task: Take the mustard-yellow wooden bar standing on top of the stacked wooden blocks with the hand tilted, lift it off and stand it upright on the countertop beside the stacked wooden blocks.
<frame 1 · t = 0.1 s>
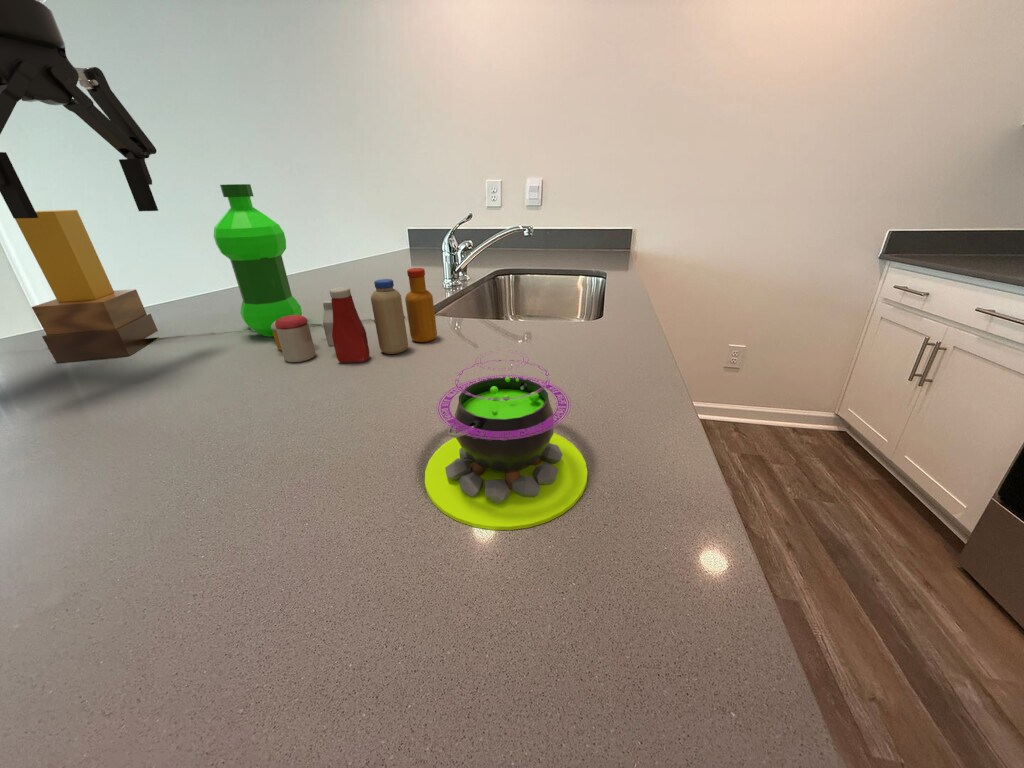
hand: (94, 214, 52), 22 cm above the countertop, tool pointing down, fingers open, 13 cm apart
toy cauldron: (506, 470, 38), on the countertop
bar: (87, 297, 66), point 9 cm above the countertop, touching stacked wooden blocks
plastic bottle: (277, 333, 77), on the countertop
toy food: (354, 350, 68), on the countertop
stacked wooden blocks: (112, 348, 70), on the countertop
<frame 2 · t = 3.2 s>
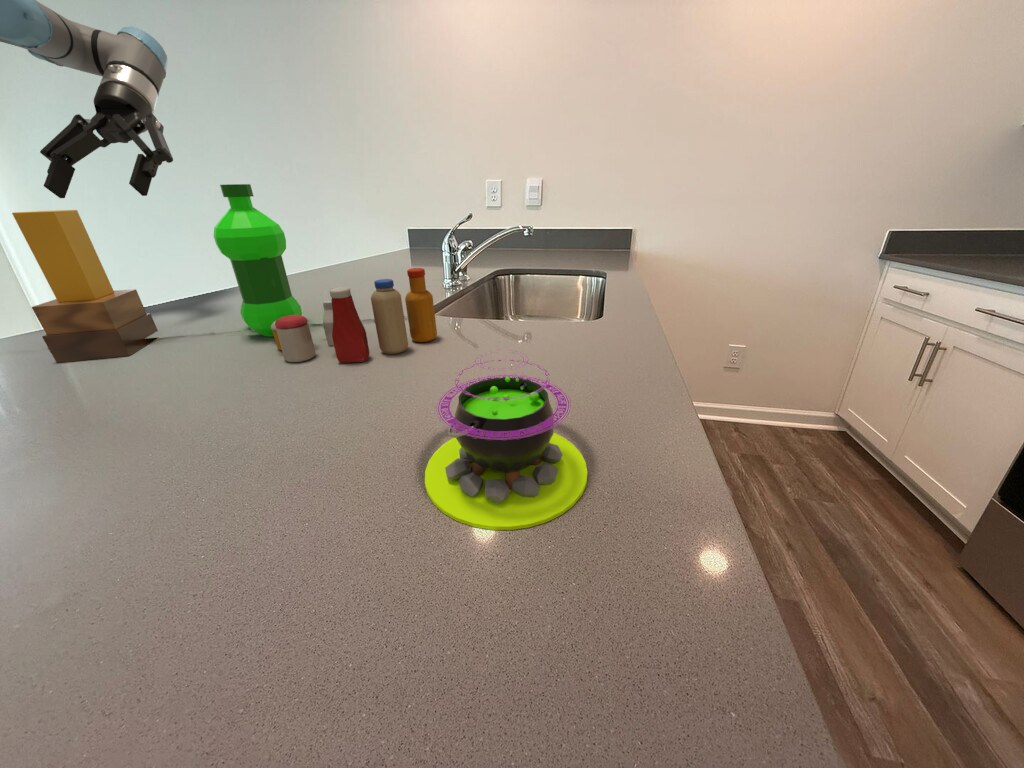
hand: (96, 191, 69), 25 cm above the countertop, tool tilted 45°, fingers open, 13 cm apart
nothing on the countertop moved.
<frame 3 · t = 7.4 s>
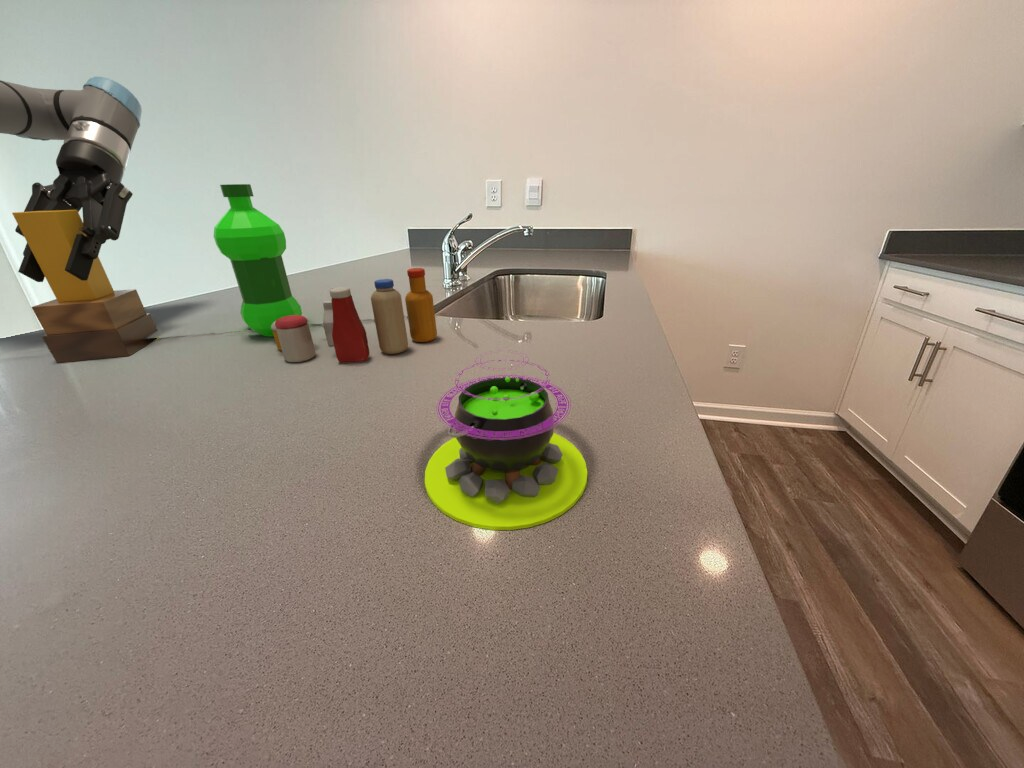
hand: (53, 275, 61), 13 cm above the countertop, tool tilted 45°, fingers closed on bar, 6 cm apart
bar: (87, 297, 66), point 9 cm above the countertop, touching gripper, stacked wooden blocks
everything else where it was.
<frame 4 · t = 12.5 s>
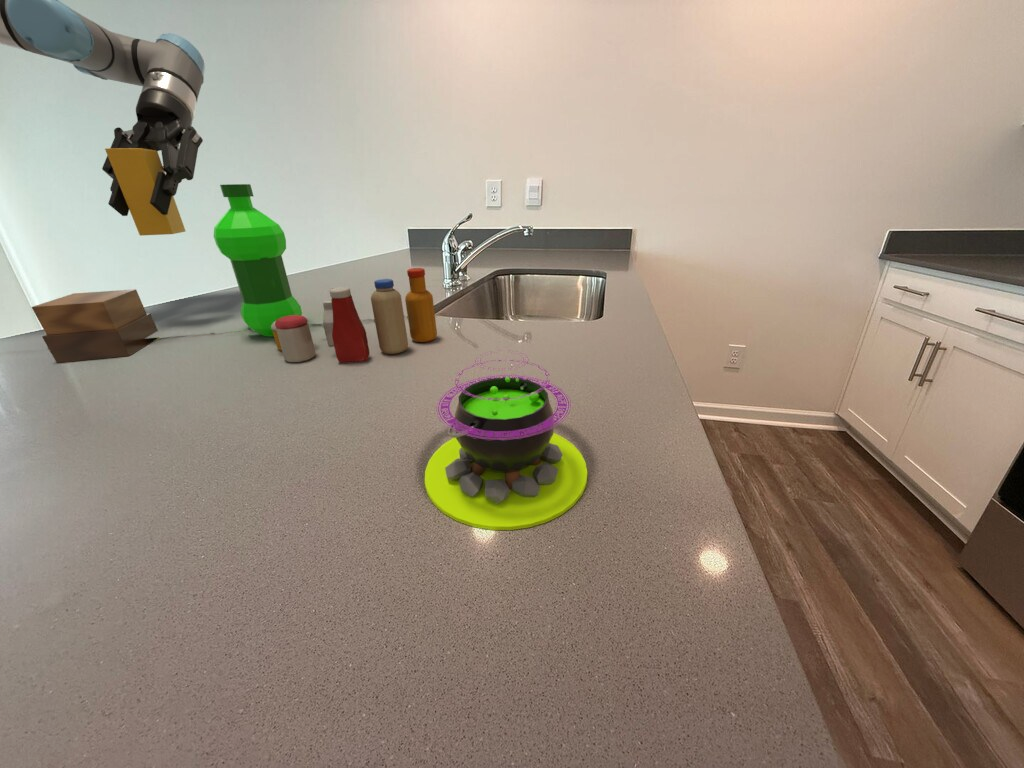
hand: (138, 209, 67), 22 cm above the countertop, tool tilted 45°, fingers closed on bar, 6 cm apart
bar: (163, 233, 72), point 18 cm above the countertop, touching gripper
everything else where it was.
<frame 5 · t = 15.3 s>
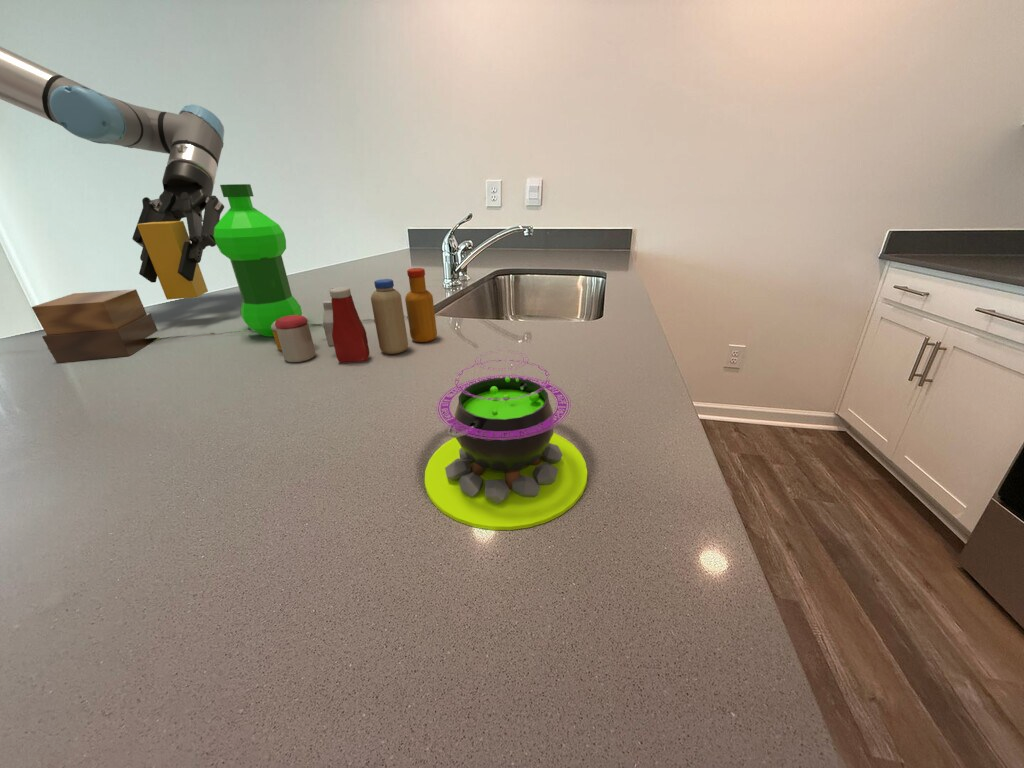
hand: (166, 277, 72), 11 cm above the countertop, tool tilted 45°, fingers closed on bar, 6 cm apart
bar: (188, 295, 77), point 6 cm above the countertop, touching gripper
everything else where it was.
when the fingers open (4 cm above the countertop, at t = 17.4 s): bar stays where it is, on the countertop.
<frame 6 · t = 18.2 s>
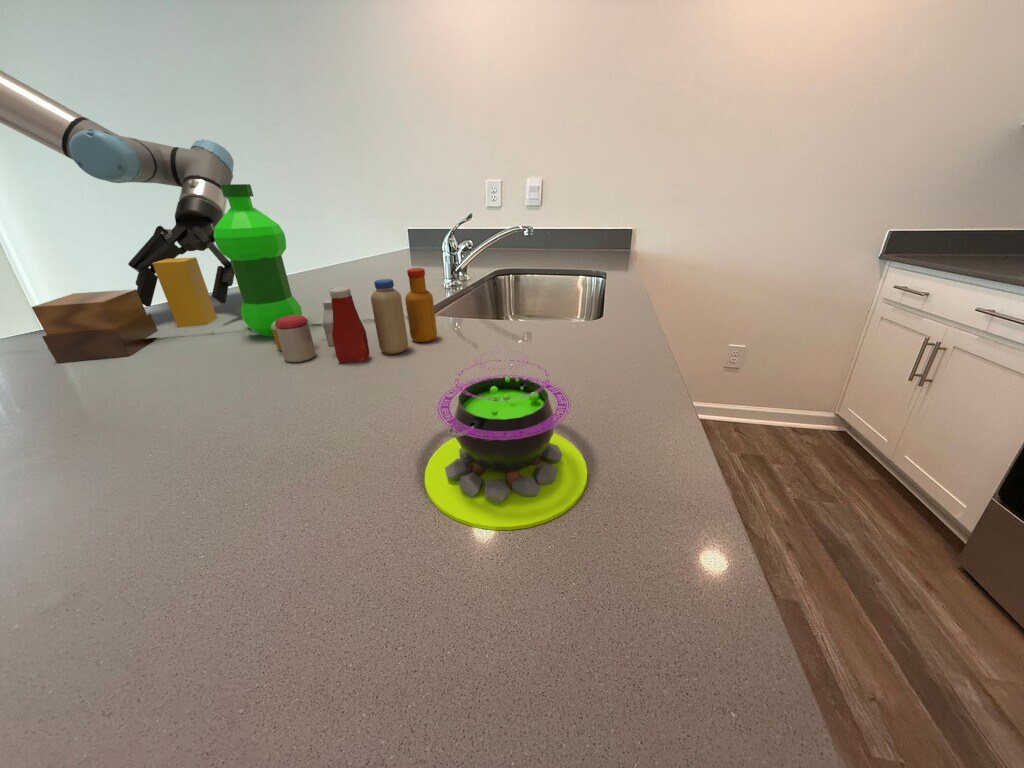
hand: (180, 301, 76), 6 cm above the countertop, tool tilted 45°, fingers open, 13 cm apart
bar: (200, 327, 80), on the countertop
everything else where it was.
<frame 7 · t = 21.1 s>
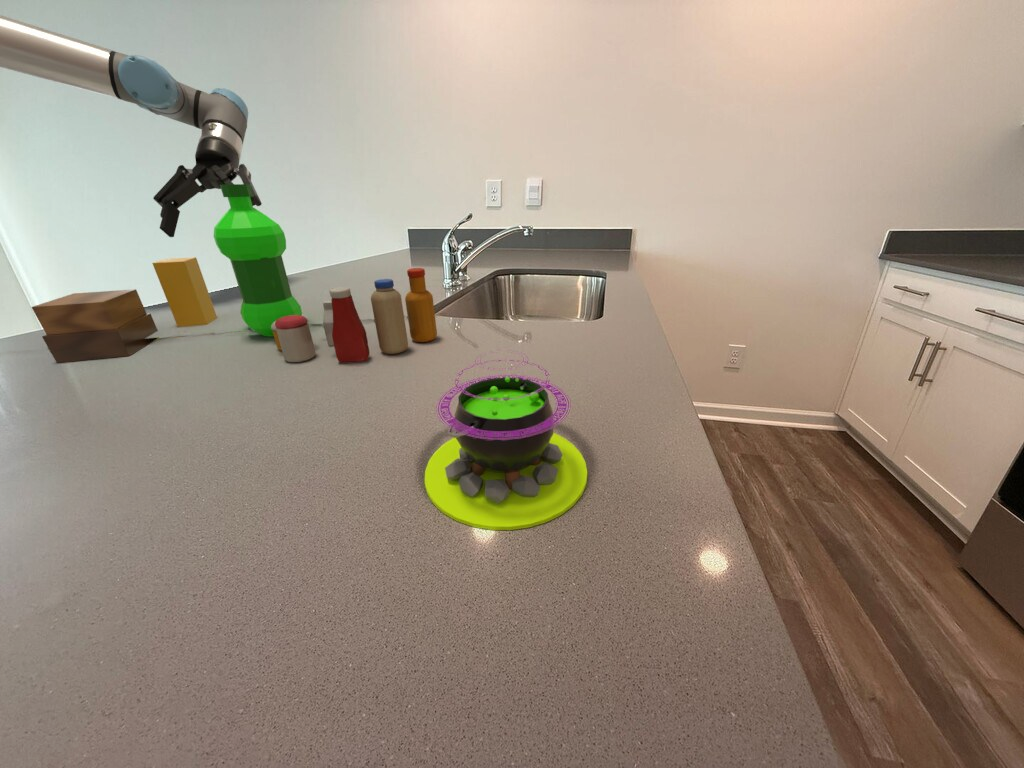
hand: (201, 231, 82), 17 cm above the countertop, tool tilted 45°, fingers open, 13 cm apart
nothing on the countertop moved.
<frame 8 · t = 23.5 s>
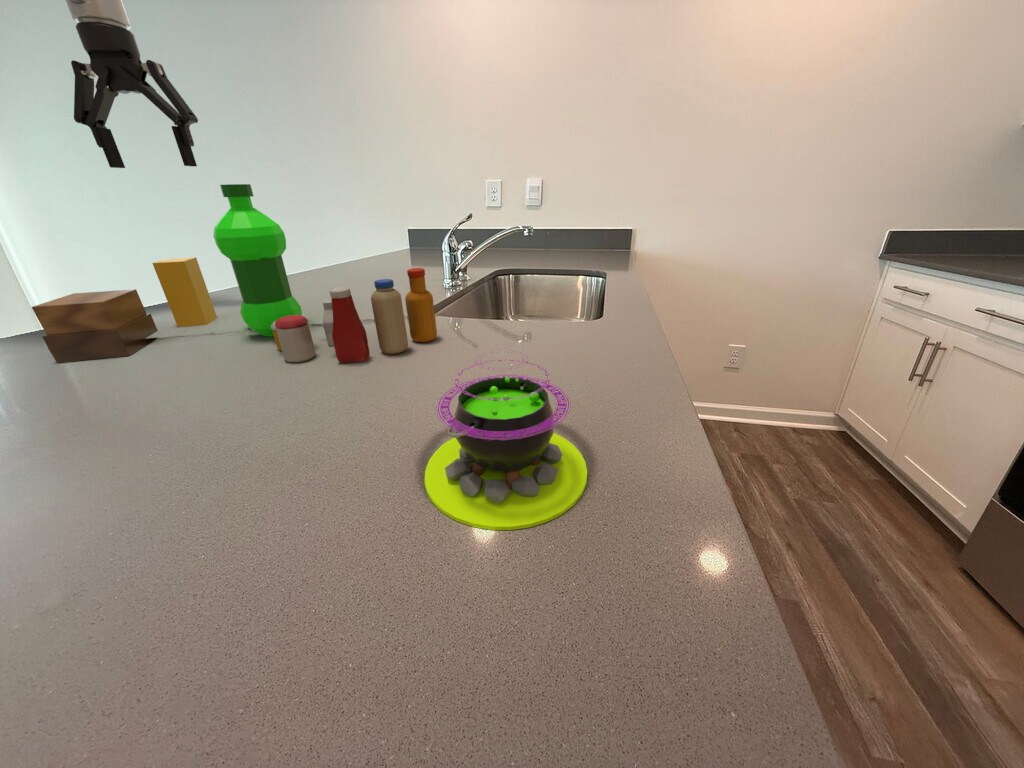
hand: (154, 167, 79), 29 cm above the countertop, tool pointing down, fingers open, 13 cm apart
nothing on the countertop moved.
at the end: bar inside the target area (0.0 cm from its centre), on the countertop; bar tilted 0°; bar touching countertop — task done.
